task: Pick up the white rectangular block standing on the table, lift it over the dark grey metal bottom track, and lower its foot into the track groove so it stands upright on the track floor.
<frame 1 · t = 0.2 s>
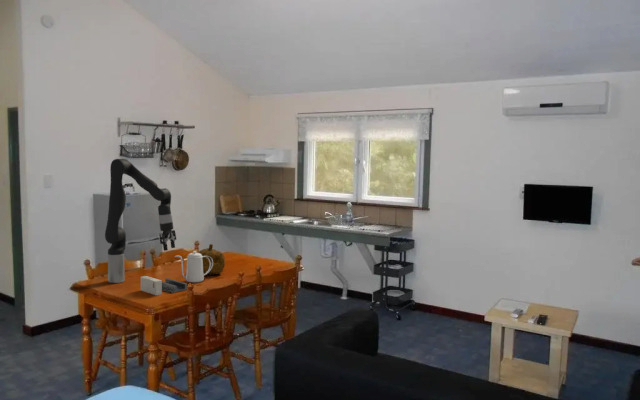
hand: (169, 249, 309), 22 cm above the table, fingers open, 8 cm apart
white rectangular block: (151, 292, 296), on the table
decorative pumpkin: (209, 273, 344), on the table
bottom track: (170, 288, 306), on the table
coffeepot: (194, 281, 324), on the table
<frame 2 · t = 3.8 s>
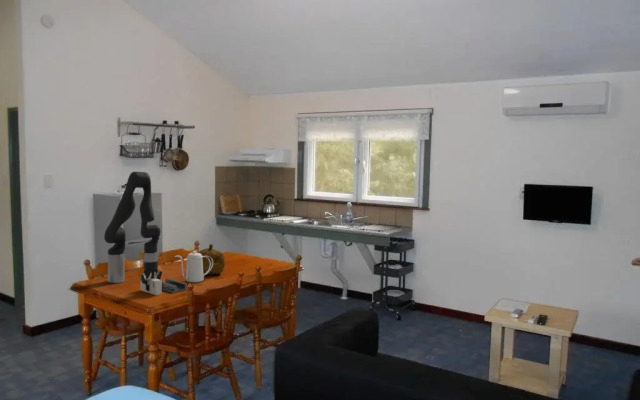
hand: (151, 289, 296), 1 cm above the table, fingers closed on white rectangular block, 3 cm apart
white rectangular block: (151, 292, 296), on the table, touching gripper
everything else where it was.
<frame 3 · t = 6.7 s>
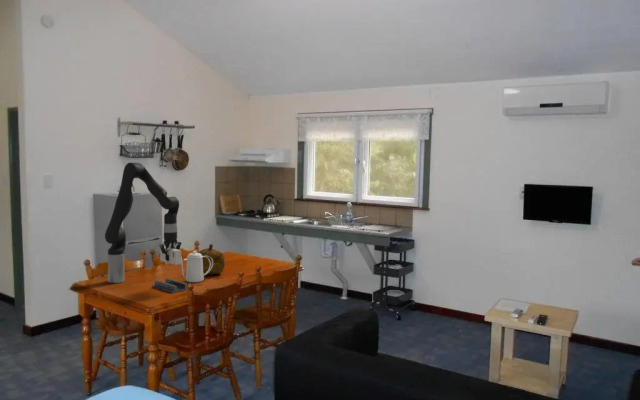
hand: (170, 260, 304), 17 cm above the table, fingers closed on white rectangular block, 3 cm apart
white rectangular block: (170, 262, 304), point 15 cm above the table, touching gripper
everything else where it was.
when the fingers open (4 cm above the table, at t = 9.6 s): white rectangular block drops 2 cm, resting on bottom track.
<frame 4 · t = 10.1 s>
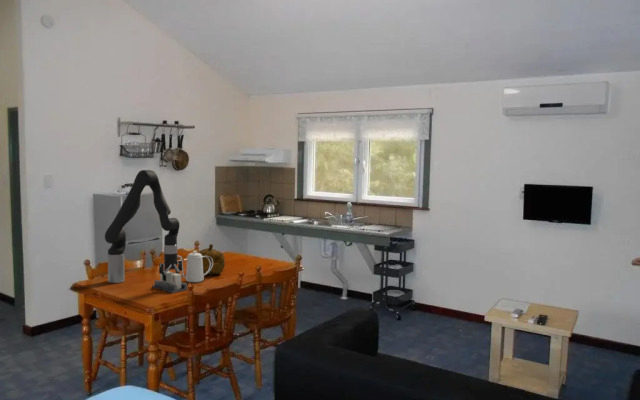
hand: (170, 279, 305), 5 cm above the table, fingers open, 8 cm apart
white rectangular block: (170, 286, 306), point 1 cm above the table, touching bottom track
everything else where it was.
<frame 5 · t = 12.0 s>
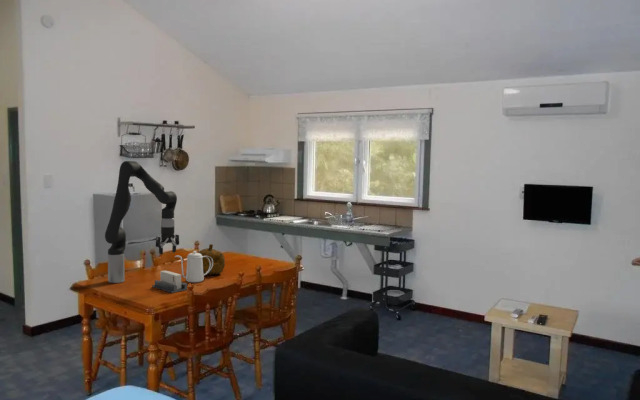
hand: (167, 253, 304), 21 cm above the table, fingers open, 8 cm apart
nothing on the table moved.
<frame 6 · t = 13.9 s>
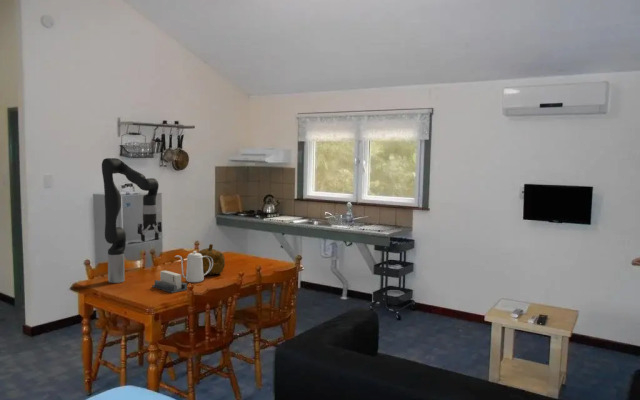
hand: (149, 240, 303), 28 cm above the table, fingers open, 8 cm apart
nothing on the table moved.
at the end: white rectangular block 0.2 cm off-centre on the bottom track, point 1.0 cm above the bottom track's base; white rectangular block tilted 0°; the gripper is holding nothing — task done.
